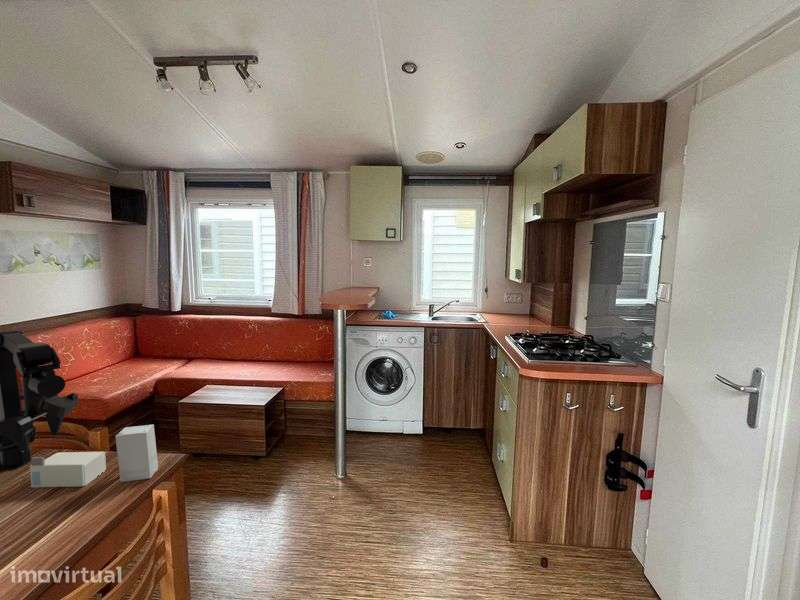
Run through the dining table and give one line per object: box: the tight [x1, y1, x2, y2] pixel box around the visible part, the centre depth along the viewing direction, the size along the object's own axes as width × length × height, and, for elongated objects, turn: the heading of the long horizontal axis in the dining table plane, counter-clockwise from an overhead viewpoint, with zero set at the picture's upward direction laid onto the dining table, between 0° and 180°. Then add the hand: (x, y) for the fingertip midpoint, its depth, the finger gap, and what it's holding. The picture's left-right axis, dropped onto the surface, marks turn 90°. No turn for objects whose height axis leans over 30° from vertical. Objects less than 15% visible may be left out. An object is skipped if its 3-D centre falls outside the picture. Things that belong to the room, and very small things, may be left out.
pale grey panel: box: [29, 456, 85, 488], centre depth 103 cm, size 14×1×9 cm, turn 94°
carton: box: [44, 451, 107, 487], centre depth 108 cm, size 14×8×6 cm, turn 94°
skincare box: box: [115, 424, 159, 483], centre depth 109 cm, size 8×6×15 cm
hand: (41, 442), depth 103 cm, fingers open, 9 cm apart
